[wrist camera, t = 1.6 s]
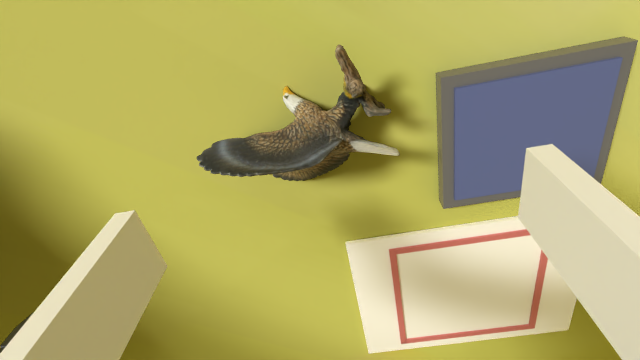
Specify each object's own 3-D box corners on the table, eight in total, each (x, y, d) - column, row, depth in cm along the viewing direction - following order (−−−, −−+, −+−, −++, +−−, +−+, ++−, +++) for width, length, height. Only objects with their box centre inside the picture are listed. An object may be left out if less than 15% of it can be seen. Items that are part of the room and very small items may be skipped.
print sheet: (368, 350, 34) (369, 355, 34) (345, 241, 27) (345, 245, 27) (566, 327, 33) (569, 331, 32) (598, 203, 25) (603, 207, 25)
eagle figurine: (299, 1, 17) (175, 125, 19) (383, 83, 14) (219, 229, 15) (358, 84, 24) (261, 172, 25) (427, 156, 20) (307, 254, 22)
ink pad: (439, 200, 25) (444, 210, 24) (435, 72, 20) (441, 78, 19) (590, 176, 24) (602, 186, 23) (623, 36, 19) (640, 41, 18)
